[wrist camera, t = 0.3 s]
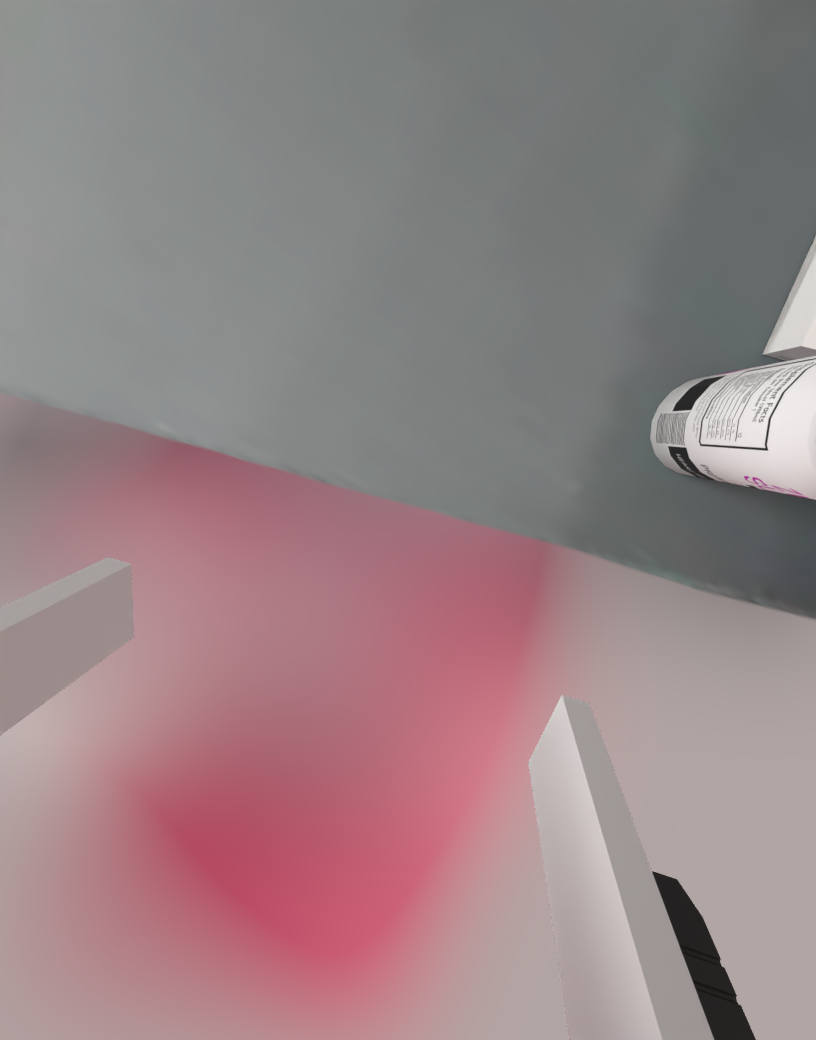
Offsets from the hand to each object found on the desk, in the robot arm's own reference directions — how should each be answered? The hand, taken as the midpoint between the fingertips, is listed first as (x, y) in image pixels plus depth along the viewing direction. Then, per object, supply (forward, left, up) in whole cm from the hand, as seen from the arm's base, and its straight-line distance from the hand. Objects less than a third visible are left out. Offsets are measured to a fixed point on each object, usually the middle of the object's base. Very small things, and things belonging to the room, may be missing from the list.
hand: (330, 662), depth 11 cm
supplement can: (-13, +23, -27) cm, 37 cm away
